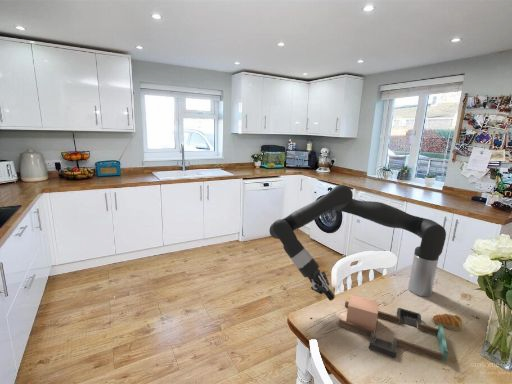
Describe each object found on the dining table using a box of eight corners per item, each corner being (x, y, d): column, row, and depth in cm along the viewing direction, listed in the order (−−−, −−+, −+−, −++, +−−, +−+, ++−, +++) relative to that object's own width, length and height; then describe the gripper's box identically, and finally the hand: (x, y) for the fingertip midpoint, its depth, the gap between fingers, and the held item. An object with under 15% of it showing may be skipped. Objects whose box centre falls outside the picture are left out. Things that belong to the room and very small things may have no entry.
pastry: (436, 328, 102) (438, 319, 101) (428, 316, 109) (430, 308, 108) (464, 332, 101) (466, 323, 100) (454, 320, 107) (456, 311, 106)
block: (348, 311, 110) (350, 294, 108) (375, 319, 105) (378, 301, 104) (345, 323, 102) (348, 305, 101) (374, 332, 98) (377, 314, 97)
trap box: (347, 297, 119) (348, 288, 118) (437, 323, 104) (439, 314, 103) (334, 336, 95) (335, 326, 94) (448, 378, 81) (451, 366, 80)
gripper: (302, 260, 117) (329, 294, 115) (292, 273, 106) (321, 312, 103) (316, 251, 114) (343, 286, 111) (306, 264, 102) (336, 304, 100)
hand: (332, 298), depth 107 cm, fingers closed
